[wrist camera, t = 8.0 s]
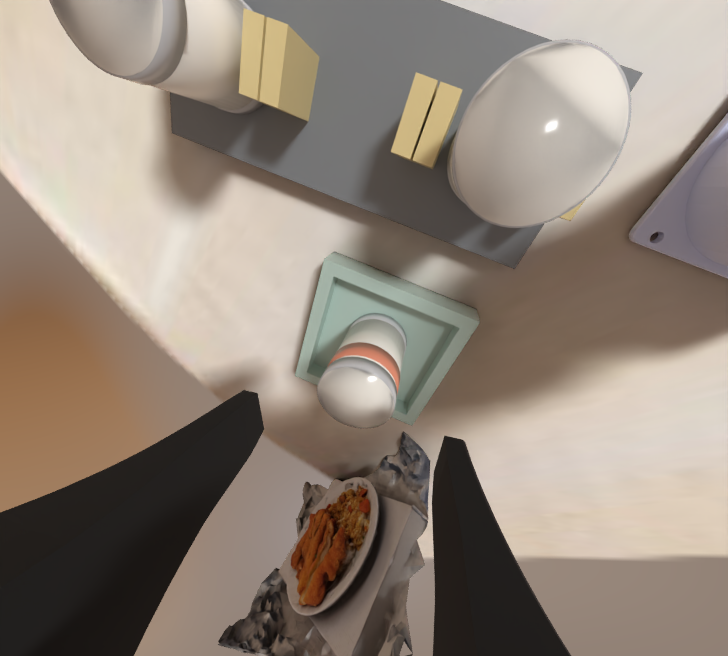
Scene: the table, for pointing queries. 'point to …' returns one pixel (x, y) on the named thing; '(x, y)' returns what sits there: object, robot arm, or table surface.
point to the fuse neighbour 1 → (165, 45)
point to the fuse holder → (367, 107)
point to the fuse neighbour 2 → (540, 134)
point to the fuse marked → (365, 372)
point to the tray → (404, 304)
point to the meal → (345, 568)
